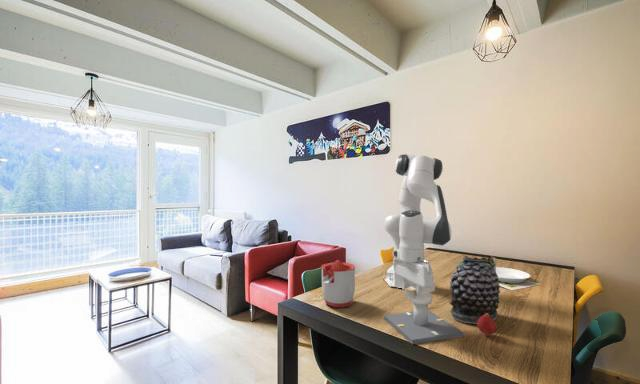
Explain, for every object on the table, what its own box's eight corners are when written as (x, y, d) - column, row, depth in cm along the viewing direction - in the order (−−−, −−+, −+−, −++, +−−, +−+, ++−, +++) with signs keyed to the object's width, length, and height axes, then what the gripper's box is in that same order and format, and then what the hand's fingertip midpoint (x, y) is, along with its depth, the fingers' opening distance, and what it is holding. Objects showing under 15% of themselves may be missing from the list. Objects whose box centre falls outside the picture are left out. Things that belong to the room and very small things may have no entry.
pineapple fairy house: (478, 307, 125) (477, 249, 125) (511, 321, 111) (510, 256, 111) (440, 314, 118) (439, 253, 118) (470, 331, 104) (469, 261, 104)
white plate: (472, 278, 167) (472, 272, 167) (487, 270, 184) (486, 264, 184) (524, 288, 148) (524, 281, 148) (535, 278, 165) (534, 272, 165)
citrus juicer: (311, 305, 129) (311, 261, 129) (335, 294, 142) (334, 254, 142) (340, 314, 119) (339, 266, 119) (362, 302, 132) (361, 258, 132)
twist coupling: (422, 293, 115) (422, 279, 115) (441, 298, 109) (441, 283, 109) (399, 302, 106) (399, 287, 106) (418, 309, 99) (418, 292, 99)
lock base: (383, 319, 114) (383, 295, 114) (427, 313, 119) (427, 290, 119) (412, 344, 95) (411, 315, 95) (463, 336, 100) (462, 308, 100)
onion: (473, 332, 103) (473, 309, 103) (489, 331, 103) (488, 309, 103) (484, 340, 97) (484, 316, 97) (500, 339, 97) (500, 316, 97)
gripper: (437, 260, 97) (438, 301, 97) (404, 249, 116) (404, 283, 116) (421, 262, 95) (422, 304, 95) (390, 250, 115) (390, 285, 115)
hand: (412, 292), depth 106 cm, fingers open, 6 cm apart
